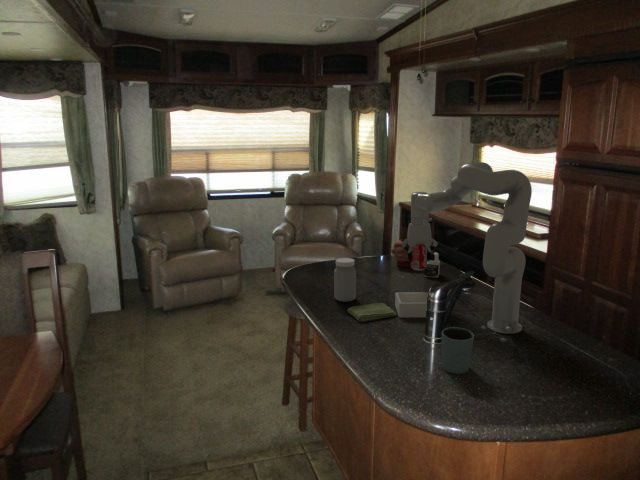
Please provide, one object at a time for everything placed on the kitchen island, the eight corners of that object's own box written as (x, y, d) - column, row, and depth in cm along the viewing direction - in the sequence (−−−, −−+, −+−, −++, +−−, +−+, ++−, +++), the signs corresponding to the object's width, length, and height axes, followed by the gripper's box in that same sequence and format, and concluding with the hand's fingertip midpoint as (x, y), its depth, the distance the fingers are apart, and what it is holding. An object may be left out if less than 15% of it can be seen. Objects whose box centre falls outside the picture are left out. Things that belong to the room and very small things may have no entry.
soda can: (426, 266, 237) (426, 240, 235) (427, 271, 230) (428, 244, 228) (410, 266, 238) (410, 240, 235) (411, 271, 231) (411, 244, 228)
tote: (432, 317, 215) (433, 303, 214) (399, 317, 216) (399, 303, 214) (426, 305, 229) (427, 292, 227) (395, 305, 229) (395, 292, 228)
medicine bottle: (423, 276, 269) (424, 253, 266) (425, 273, 276) (426, 250, 273) (438, 278, 267) (439, 254, 264) (439, 274, 274) (440, 251, 271)
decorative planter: (420, 261, 298) (421, 236, 295) (430, 266, 287) (431, 241, 284) (387, 263, 293) (387, 239, 290) (395, 269, 282) (396, 244, 279)
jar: (359, 300, 236) (360, 261, 232) (339, 303, 232) (339, 264, 228) (350, 294, 244) (350, 256, 240) (330, 297, 241) (330, 258, 237)
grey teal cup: (448, 358, 179) (450, 324, 177) (477, 366, 173) (479, 332, 170) (434, 369, 172) (435, 334, 169) (464, 378, 165) (466, 342, 163)
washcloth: (398, 317, 217) (398, 310, 216) (359, 324, 210) (359, 316, 210) (382, 307, 229) (383, 300, 228) (345, 313, 222) (345, 305, 222)
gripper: (438, 218, 233) (437, 258, 237) (398, 219, 233) (398, 259, 237) (441, 221, 226) (440, 262, 229) (400, 222, 226) (400, 263, 230)
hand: (419, 260), depth 233 cm, fingers closed on soda can, 6 cm apart
